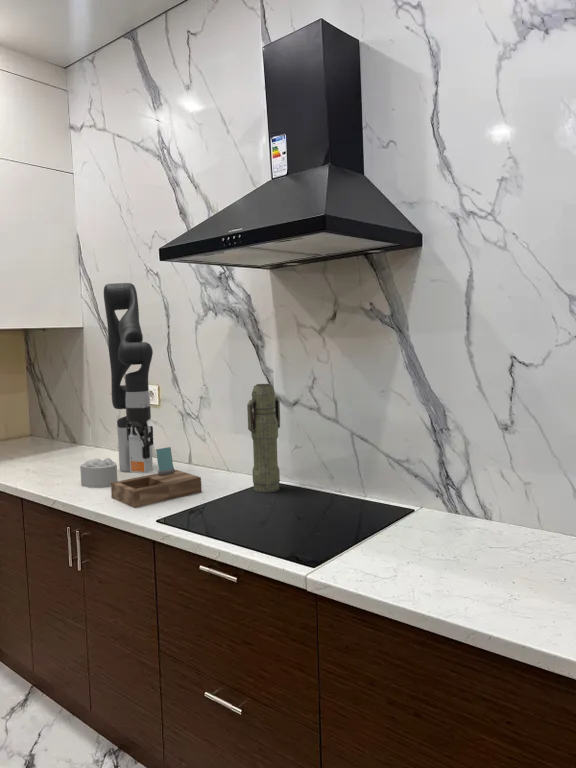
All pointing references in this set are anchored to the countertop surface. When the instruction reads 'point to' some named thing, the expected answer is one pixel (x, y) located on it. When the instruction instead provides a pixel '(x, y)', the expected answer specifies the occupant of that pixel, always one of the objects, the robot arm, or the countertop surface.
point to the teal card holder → (165, 461)
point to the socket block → (155, 488)
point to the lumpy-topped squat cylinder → (98, 473)
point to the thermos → (264, 437)
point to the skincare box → (139, 456)
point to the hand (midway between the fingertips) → (140, 456)
